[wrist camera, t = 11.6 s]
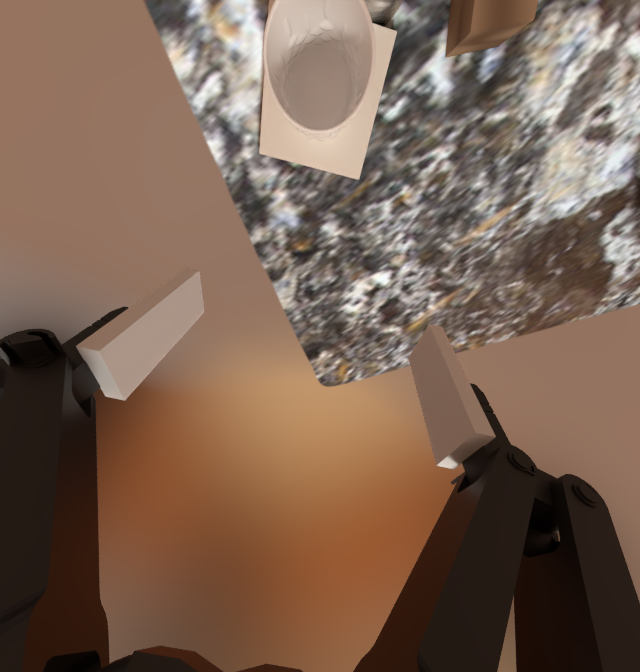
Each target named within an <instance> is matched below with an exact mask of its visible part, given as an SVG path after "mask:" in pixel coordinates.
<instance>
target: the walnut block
mask: <svg viewBox="0 0 640 672" xmlns="http://www.w3.org/2000/svg"><path fill="white" fill-rule="evenodd" d="M537 4H538V0H451V5H450V15H449V25H448V36H447V46H446V57H450V56H455V55H460V54H464V53H469V52H474V51H479V50H484V49H489V48H494V47H498V46H499V45H501V44H502V43H503V42H505V41H506V40H507V39H509V38H510V37H511V36H513V35H514V34H515V33H517V32H518V31H519V30H521V29H522V28H523V27H524V26H526V25H527V24H528V23H530V22H531V21H532V20H534V18H535V13H536V9H537Z"/></svg>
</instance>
